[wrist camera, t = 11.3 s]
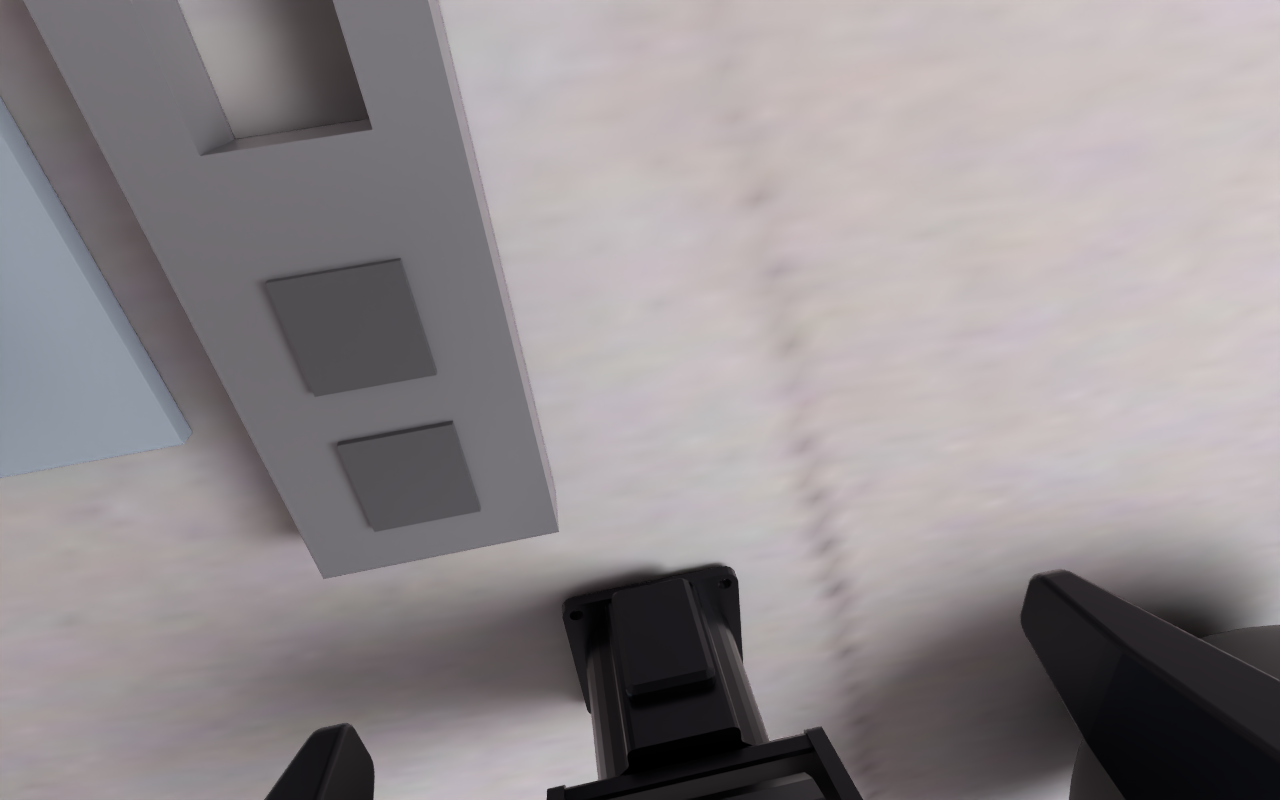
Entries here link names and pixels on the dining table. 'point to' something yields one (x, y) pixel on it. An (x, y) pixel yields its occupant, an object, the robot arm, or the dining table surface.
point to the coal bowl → (1256, 646)
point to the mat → (65, 338)
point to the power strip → (331, 278)
